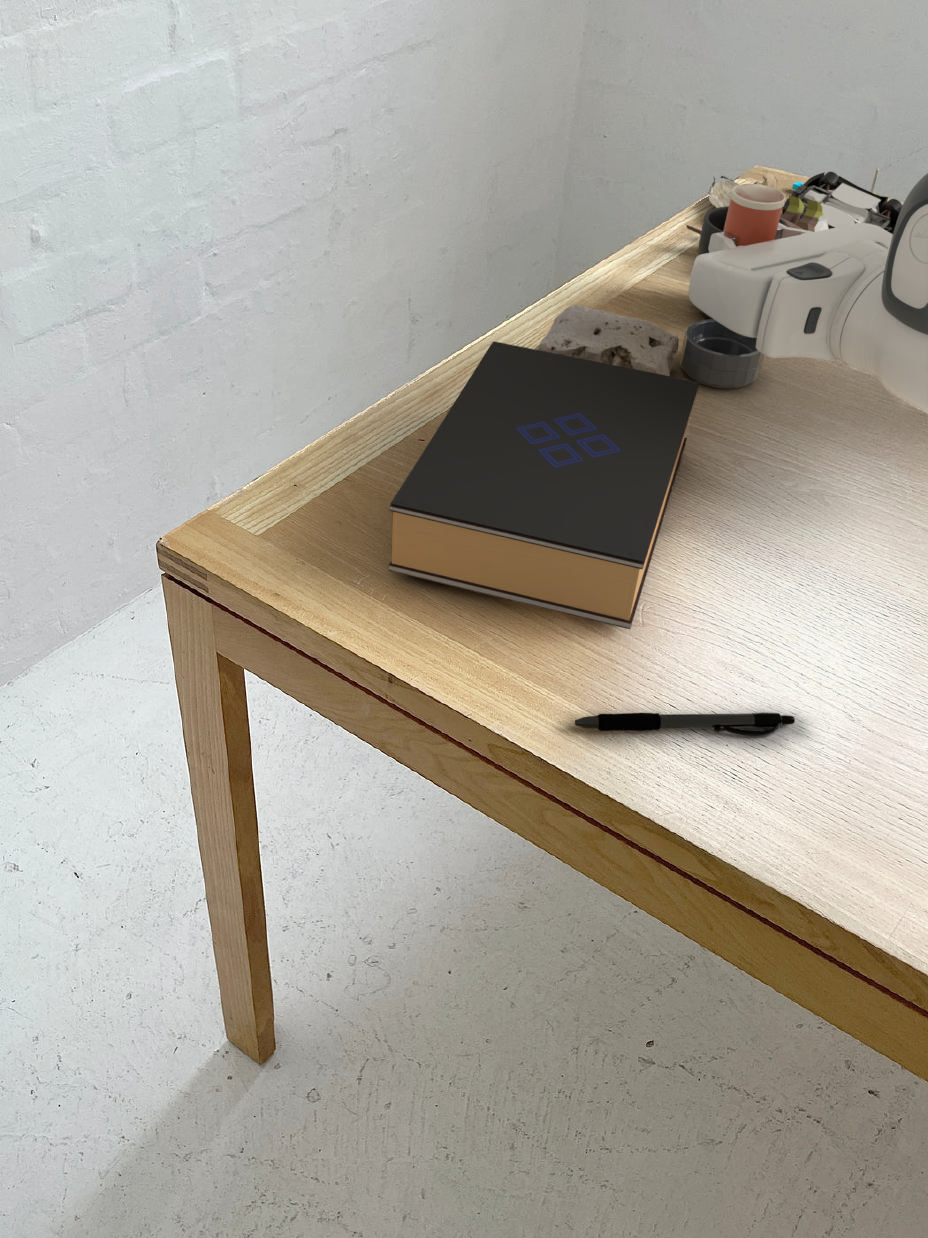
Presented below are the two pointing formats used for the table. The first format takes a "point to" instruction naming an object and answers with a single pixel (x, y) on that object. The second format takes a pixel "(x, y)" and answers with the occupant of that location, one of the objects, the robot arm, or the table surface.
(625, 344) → the stone
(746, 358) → the bowl
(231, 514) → the table surface
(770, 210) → the canister
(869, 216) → the toy car
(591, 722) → the pen
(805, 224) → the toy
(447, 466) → the book
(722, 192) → the stone fragment
